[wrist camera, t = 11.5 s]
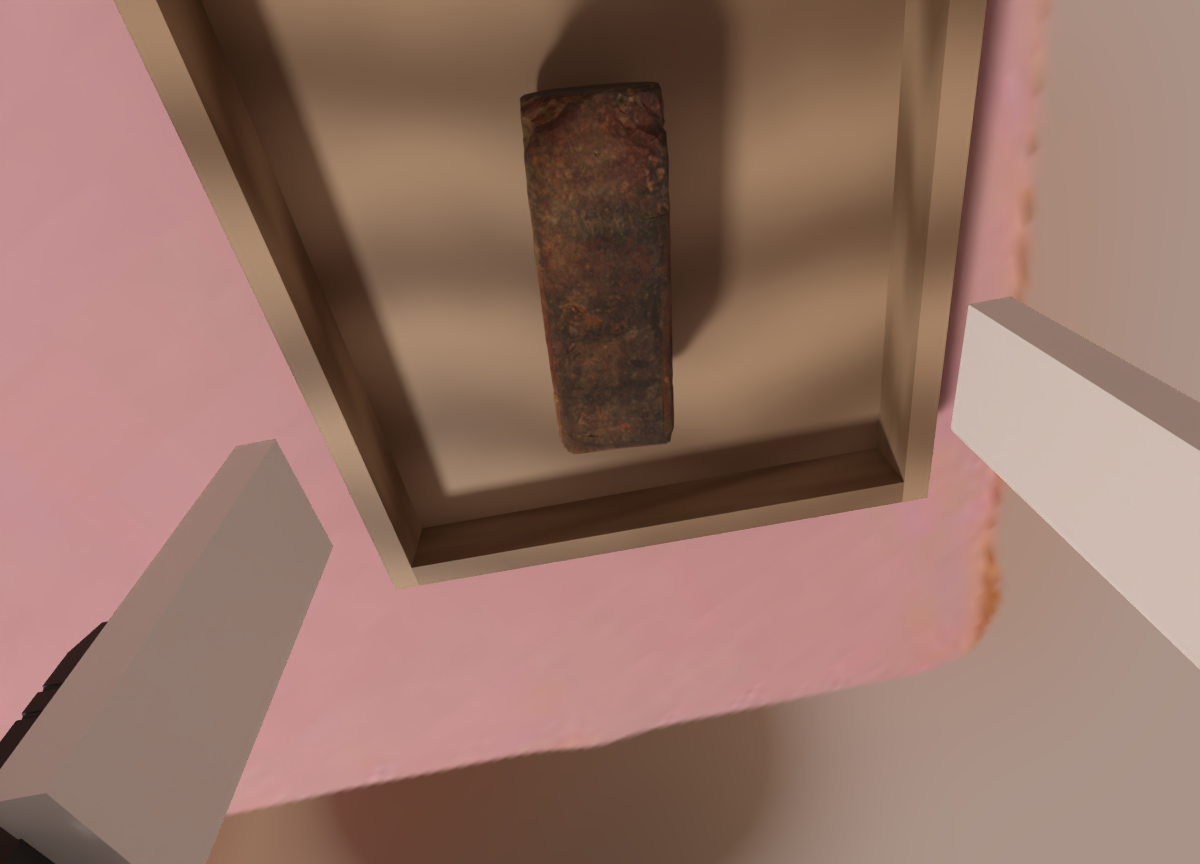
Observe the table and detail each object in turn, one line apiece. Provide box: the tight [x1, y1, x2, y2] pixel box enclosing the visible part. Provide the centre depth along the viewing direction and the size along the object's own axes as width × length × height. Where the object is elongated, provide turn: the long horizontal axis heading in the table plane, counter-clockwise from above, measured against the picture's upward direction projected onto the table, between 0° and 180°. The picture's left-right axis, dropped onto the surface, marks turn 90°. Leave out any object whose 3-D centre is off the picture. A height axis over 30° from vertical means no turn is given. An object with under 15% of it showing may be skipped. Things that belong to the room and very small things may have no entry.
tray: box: [114, 0, 987, 589], centre depth 22 cm, size 22×22×3 cm
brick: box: [520, 82, 674, 454], centre depth 20 cm, size 11×4×5 cm, turn 4°
